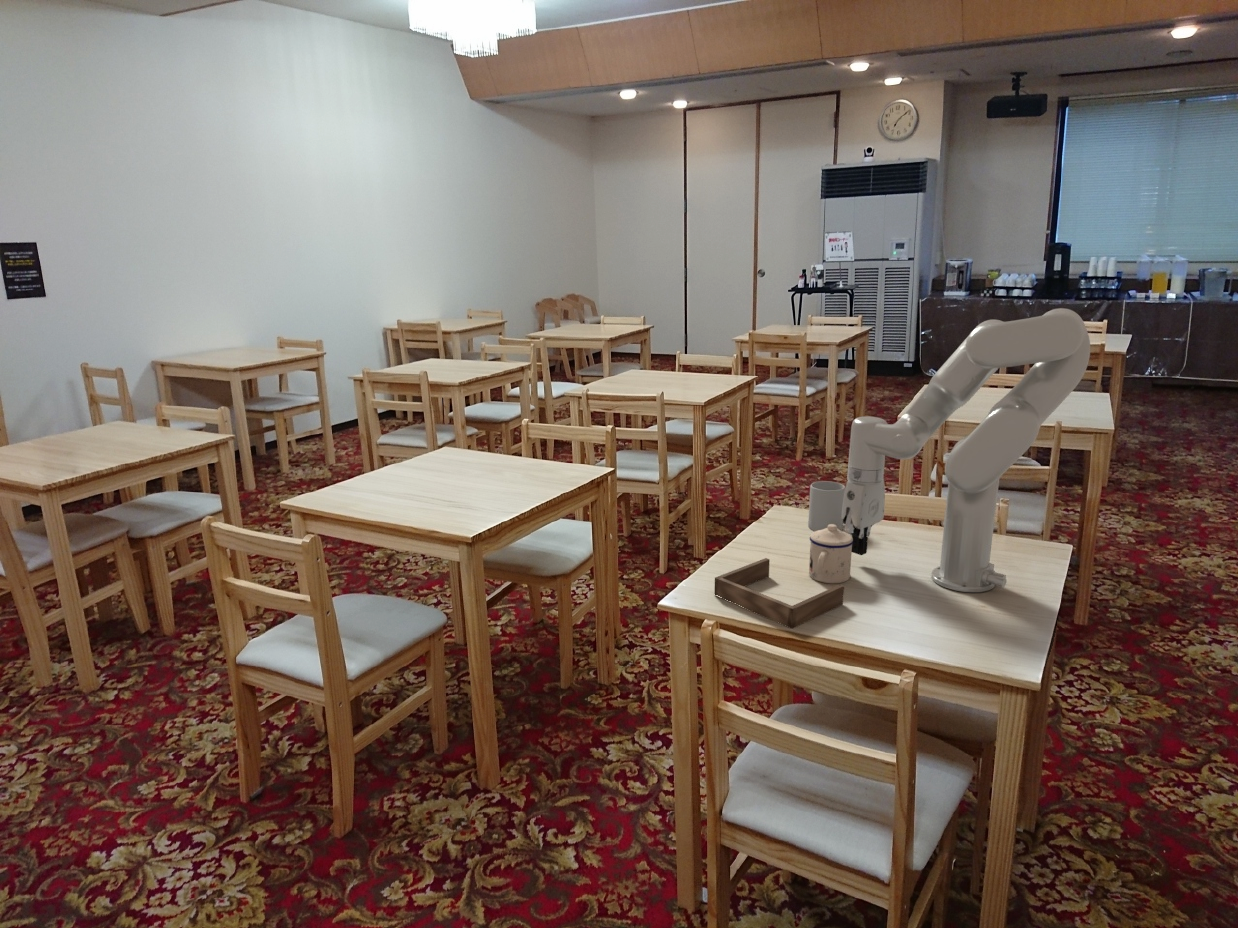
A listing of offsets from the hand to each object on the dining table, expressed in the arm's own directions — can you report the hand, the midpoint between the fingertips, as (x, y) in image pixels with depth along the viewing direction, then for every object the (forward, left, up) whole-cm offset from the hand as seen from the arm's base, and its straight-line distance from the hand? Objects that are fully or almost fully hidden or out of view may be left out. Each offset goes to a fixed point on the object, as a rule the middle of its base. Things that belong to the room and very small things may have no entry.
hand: (858, 552), depth 189 cm
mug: (+20, -16, -3) cm, 25 cm away
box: (0, +28, -3) cm, 28 cm away
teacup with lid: (0, +12, -3) cm, 12 cm away
